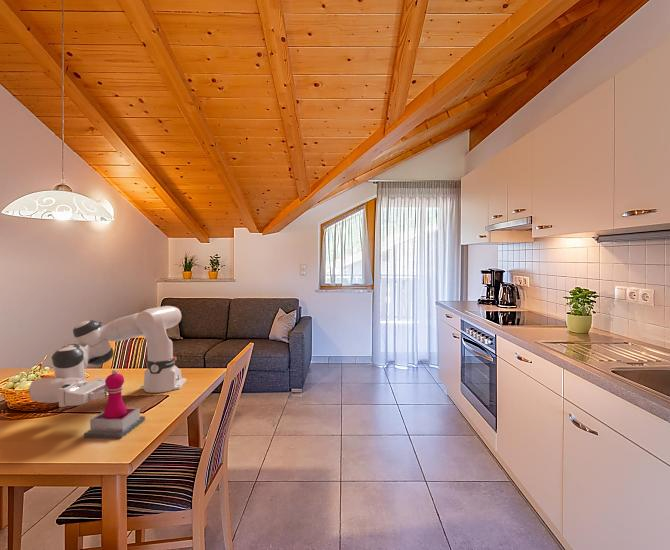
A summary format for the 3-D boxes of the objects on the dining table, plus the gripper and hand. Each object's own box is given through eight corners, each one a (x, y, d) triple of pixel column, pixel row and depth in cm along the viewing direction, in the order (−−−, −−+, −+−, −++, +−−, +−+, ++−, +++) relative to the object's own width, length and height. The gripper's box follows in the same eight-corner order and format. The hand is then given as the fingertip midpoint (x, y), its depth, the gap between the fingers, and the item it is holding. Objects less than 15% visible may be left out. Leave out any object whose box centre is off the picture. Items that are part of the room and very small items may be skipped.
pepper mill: (116, 419, 151) (115, 366, 150) (131, 422, 148) (130, 368, 148) (99, 427, 144) (98, 371, 144) (114, 430, 142) (113, 373, 141)
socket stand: (111, 419, 155) (111, 405, 155) (145, 420, 154) (144, 406, 154) (84, 437, 139) (83, 422, 139) (121, 438, 138) (120, 422, 138)
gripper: (94, 390, 157) (129, 390, 156) (55, 408, 137) (96, 409, 136) (93, 373, 157) (129, 374, 156) (55, 390, 136) (95, 390, 136)
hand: (113, 390), depth 146 cm, fingers open, 8 cm apart
